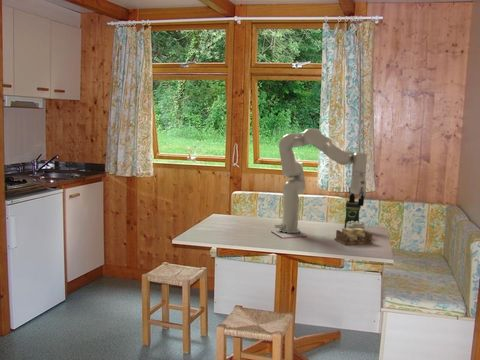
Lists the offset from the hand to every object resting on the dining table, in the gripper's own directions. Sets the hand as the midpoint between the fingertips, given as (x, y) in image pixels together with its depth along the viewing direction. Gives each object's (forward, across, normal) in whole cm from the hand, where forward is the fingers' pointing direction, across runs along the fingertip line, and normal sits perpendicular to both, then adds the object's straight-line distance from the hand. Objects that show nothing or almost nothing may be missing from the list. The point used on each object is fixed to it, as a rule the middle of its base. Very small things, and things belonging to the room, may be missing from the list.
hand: (356, 204), depth 283 cm
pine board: (+18, 0, 0) cm, 18 cm away
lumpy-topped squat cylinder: (+22, +15, -10) cm, 28 cm away
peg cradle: (+22, 0, 0) cm, 22 cm away
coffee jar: (+22, +30, -16) cm, 41 cm away
